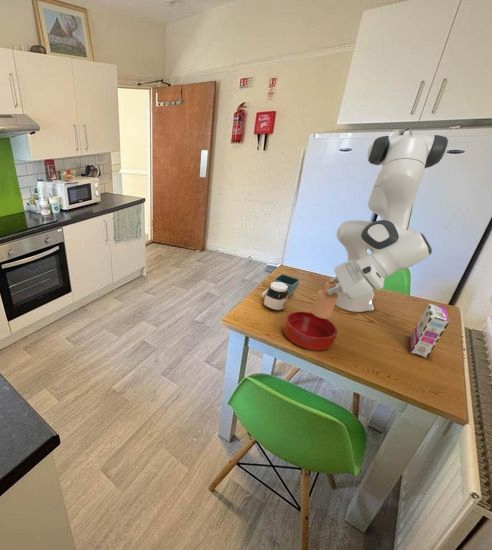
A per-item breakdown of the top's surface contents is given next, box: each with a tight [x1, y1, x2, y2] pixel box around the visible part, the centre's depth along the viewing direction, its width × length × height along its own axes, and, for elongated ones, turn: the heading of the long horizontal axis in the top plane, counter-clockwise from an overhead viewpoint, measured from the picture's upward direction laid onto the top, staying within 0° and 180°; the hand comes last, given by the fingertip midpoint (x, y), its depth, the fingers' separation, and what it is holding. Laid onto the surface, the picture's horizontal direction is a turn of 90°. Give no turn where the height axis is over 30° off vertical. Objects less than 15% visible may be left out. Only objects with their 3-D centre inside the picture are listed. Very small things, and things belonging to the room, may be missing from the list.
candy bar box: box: [409, 303, 450, 359], centre depth 107 cm, size 11×5×16 cm, turn 141°
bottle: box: [311, 280, 338, 320], centre depth 109 cm, size 6×6×14 cm
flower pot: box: [273, 273, 301, 298], centre depth 144 cm, size 9×9×9 cm
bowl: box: [283, 311, 338, 351], centre depth 117 cm, size 17×17×6 cm
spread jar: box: [261, 281, 289, 312], centre depth 137 cm, size 12×11×12 cm
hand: (327, 289), depth 107 cm, fingers closed on bottle, 3 cm apart
